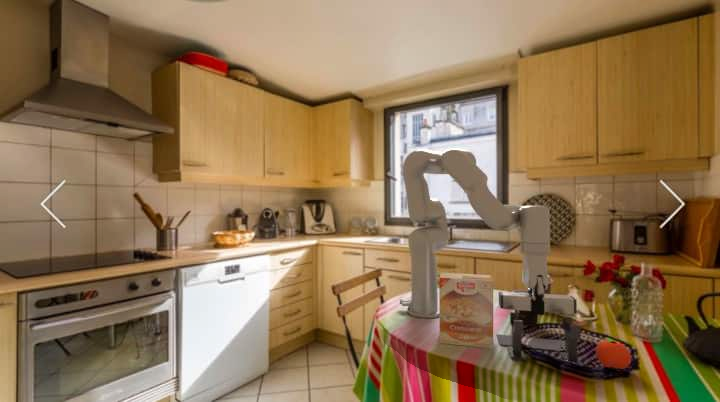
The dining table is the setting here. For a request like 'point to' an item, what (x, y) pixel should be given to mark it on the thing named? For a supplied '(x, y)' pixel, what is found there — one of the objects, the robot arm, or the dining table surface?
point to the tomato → (613, 354)
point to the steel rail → (550, 302)
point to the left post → (516, 338)
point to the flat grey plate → (534, 343)
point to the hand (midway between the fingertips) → (535, 310)
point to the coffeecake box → (466, 309)
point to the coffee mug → (526, 314)
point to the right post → (570, 340)
